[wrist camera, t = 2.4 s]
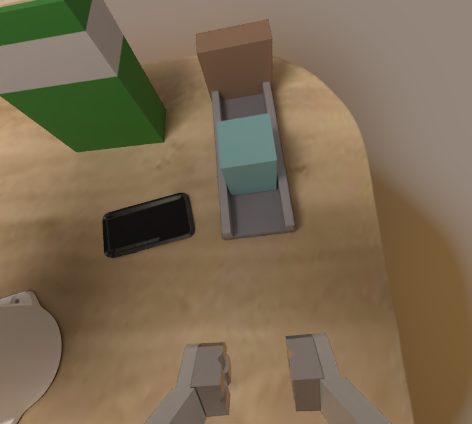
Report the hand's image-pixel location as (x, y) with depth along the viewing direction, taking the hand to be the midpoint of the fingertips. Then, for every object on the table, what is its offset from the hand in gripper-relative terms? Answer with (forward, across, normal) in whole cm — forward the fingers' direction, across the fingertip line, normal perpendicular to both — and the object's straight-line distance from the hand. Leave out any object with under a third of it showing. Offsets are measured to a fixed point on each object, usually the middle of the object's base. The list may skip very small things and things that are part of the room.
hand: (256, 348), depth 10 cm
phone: (+30, +18, +9) cm, 36 cm away
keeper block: (+33, 0, +3) cm, 33 cm away
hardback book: (+44, +24, -5) cm, 51 cm away
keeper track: (+38, 0, +1) cm, 38 cm away
